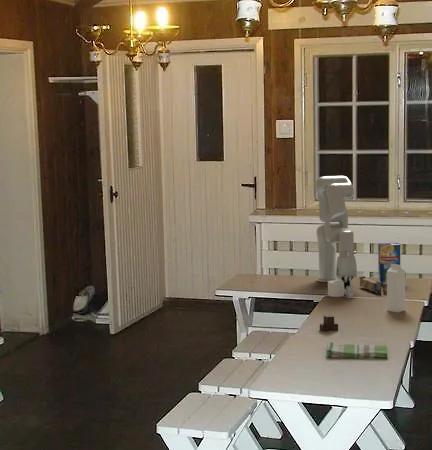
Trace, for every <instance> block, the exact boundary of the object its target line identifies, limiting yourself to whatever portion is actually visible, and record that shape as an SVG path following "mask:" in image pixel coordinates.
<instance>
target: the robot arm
mask: <svg viewBox="0 0 432 450" xmlns="http://www.w3.org/2000/svg"><path fill="white" fill-rule="evenodd" d="M315 189H316V192H317V194H318V202H319V203H318V206H319V208H318V214H319V217H318V218H319V220H320V222H322V223H324V224H322V225H319V226H318V227H317V228H316V239H317V245H318V246H317V247H318V277H316V278H315V279H316V281H317V282H319V283H328V281H335V280H337V281H340V280H341V281H343V282H344V290H346V286H351V282H352V280H353V279H355V278H357V274H358V270H357V267H358V266H357V260H356V256H355V255H356V254H357V252H356V251H355V250H354V249H355V245H354V244H355V240H354V231H353V230H351V229H350V228H349V211H348V209H347V207H346V202H345V199H346V200H347V199H353V198H354V195H355V188H354V185H353V184H352V182H351V180H350V179H349V178H348V177H347V176H345V175H326V176H325V175H324V176H320V177H318V178H316V181H315ZM331 223H336V224H331ZM333 244H338V256H337V258H336V255H337V253H336V252H337V251H336V247H335V246H334V245H333Z"/></svg>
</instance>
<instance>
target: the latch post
mask: <svg viewBox="0 0 432 450" xmlns="http://www.w3.org/2000/svg"><path fill="white" fill-rule="evenodd" d="M353 290H354V287H353V285H350V286H346V289H345V291H346V292H345V295H346V299H349V300H350V299H353V298H354V291H353Z"/></svg>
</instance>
